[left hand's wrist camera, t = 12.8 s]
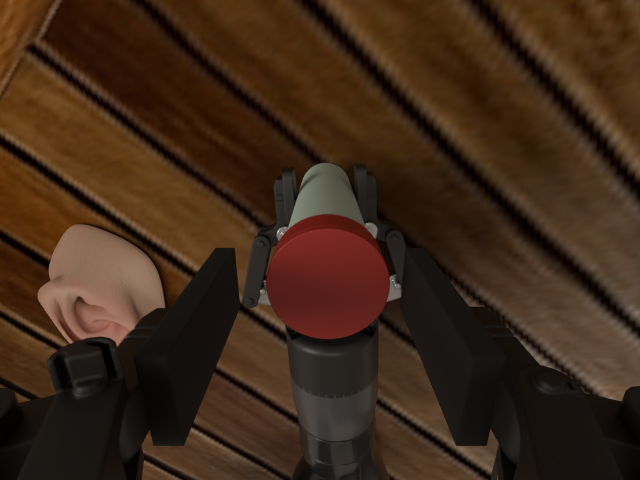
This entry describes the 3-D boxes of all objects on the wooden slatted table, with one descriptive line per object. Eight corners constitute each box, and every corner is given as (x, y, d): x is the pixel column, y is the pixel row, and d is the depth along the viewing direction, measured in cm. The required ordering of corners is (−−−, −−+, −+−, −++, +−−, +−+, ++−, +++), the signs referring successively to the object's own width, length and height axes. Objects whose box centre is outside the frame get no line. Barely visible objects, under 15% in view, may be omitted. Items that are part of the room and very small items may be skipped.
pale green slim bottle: (315, 218, 32) (305, 342, 15) (293, 176, 31) (254, 260, 14) (357, 197, 31) (398, 303, 14) (336, 154, 30) (354, 212, 13)
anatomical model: (10, 230, 28) (151, 257, 29) (46, 216, 32) (171, 240, 33) (24, 359, 33) (146, 380, 34) (55, 334, 37) (164, 353, 37)
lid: (304, 327, 16) (301, 355, 15) (252, 243, 15) (242, 262, 13) (398, 287, 16) (409, 311, 14) (353, 194, 14) (358, 206, 12)
